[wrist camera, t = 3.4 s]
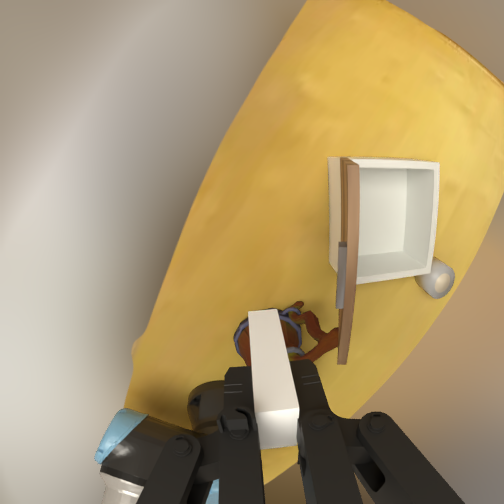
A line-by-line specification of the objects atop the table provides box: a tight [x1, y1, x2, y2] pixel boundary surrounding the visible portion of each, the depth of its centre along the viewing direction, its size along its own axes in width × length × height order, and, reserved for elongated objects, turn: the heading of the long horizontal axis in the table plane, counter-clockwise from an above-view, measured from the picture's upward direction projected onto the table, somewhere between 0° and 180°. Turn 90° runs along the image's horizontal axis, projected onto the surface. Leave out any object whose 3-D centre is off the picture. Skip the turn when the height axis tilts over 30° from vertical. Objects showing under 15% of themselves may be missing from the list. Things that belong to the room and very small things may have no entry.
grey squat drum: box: [415, 257, 455, 299], centre depth 43 cm, size 6×6×5 cm
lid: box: [336, 157, 360, 365], centre depth 26 cm, size 14×16×1 cm
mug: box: [234, 301, 339, 366], centre depth 39 cm, size 18×12×15 cm, turn 142°
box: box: [328, 157, 439, 284], centre depth 37 cm, size 14×16×8 cm
